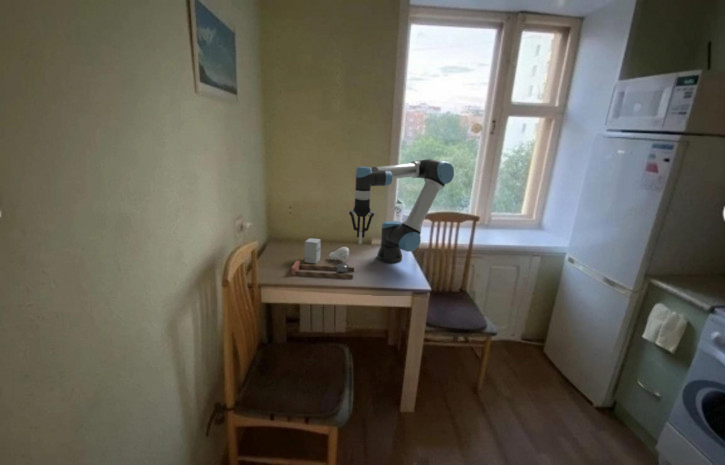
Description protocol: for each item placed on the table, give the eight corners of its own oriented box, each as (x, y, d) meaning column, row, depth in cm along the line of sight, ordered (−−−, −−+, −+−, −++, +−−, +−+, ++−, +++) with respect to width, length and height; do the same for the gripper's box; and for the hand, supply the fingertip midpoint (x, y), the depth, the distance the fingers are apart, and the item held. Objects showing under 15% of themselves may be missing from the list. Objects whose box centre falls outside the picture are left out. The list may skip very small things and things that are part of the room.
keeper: (348, 272, 184) (348, 263, 182) (347, 276, 178) (347, 268, 177) (337, 271, 184) (337, 263, 183) (336, 276, 178) (336, 267, 177)
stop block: (299, 267, 187) (299, 260, 186) (295, 275, 177) (295, 268, 176) (296, 267, 187) (296, 260, 186) (291, 275, 177) (291, 267, 176)
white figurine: (347, 249, 193) (327, 248, 195) (348, 263, 195) (328, 262, 198) (349, 245, 199) (330, 245, 201) (350, 259, 201) (331, 258, 204)
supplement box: (316, 263, 193) (316, 242, 189) (304, 262, 194) (304, 241, 191) (320, 259, 200) (320, 239, 196) (308, 257, 201) (308, 237, 197)
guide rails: (354, 270, 186) (354, 267, 185) (352, 278, 176) (352, 275, 175) (299, 267, 187) (299, 264, 186) (295, 275, 177) (295, 271, 176)
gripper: (375, 197, 172) (373, 241, 179) (350, 196, 172) (348, 240, 179) (375, 200, 165) (372, 246, 172) (348, 199, 165) (347, 244, 172)
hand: (360, 243), depth 175 cm, fingers closed
